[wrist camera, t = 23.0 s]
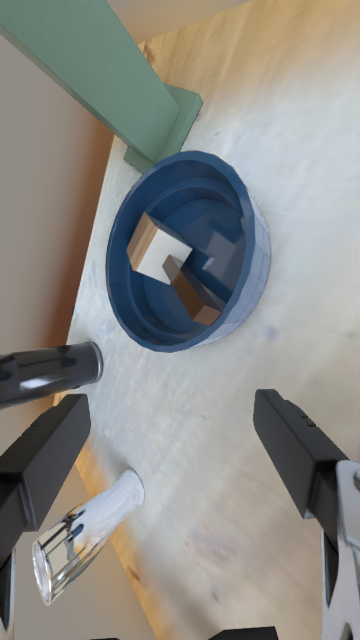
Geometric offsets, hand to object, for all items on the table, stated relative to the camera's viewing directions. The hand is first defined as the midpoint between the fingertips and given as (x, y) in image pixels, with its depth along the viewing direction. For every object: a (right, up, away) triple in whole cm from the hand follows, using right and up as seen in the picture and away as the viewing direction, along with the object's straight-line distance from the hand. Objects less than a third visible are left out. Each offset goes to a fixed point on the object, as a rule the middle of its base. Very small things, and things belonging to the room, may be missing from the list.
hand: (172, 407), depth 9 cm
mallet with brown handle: (+1, +10, +14) cm, 17 cm away
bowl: (+2, +11, +18) cm, 21 cm away
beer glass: (-8, -28, +27) cm, 40 cm away
